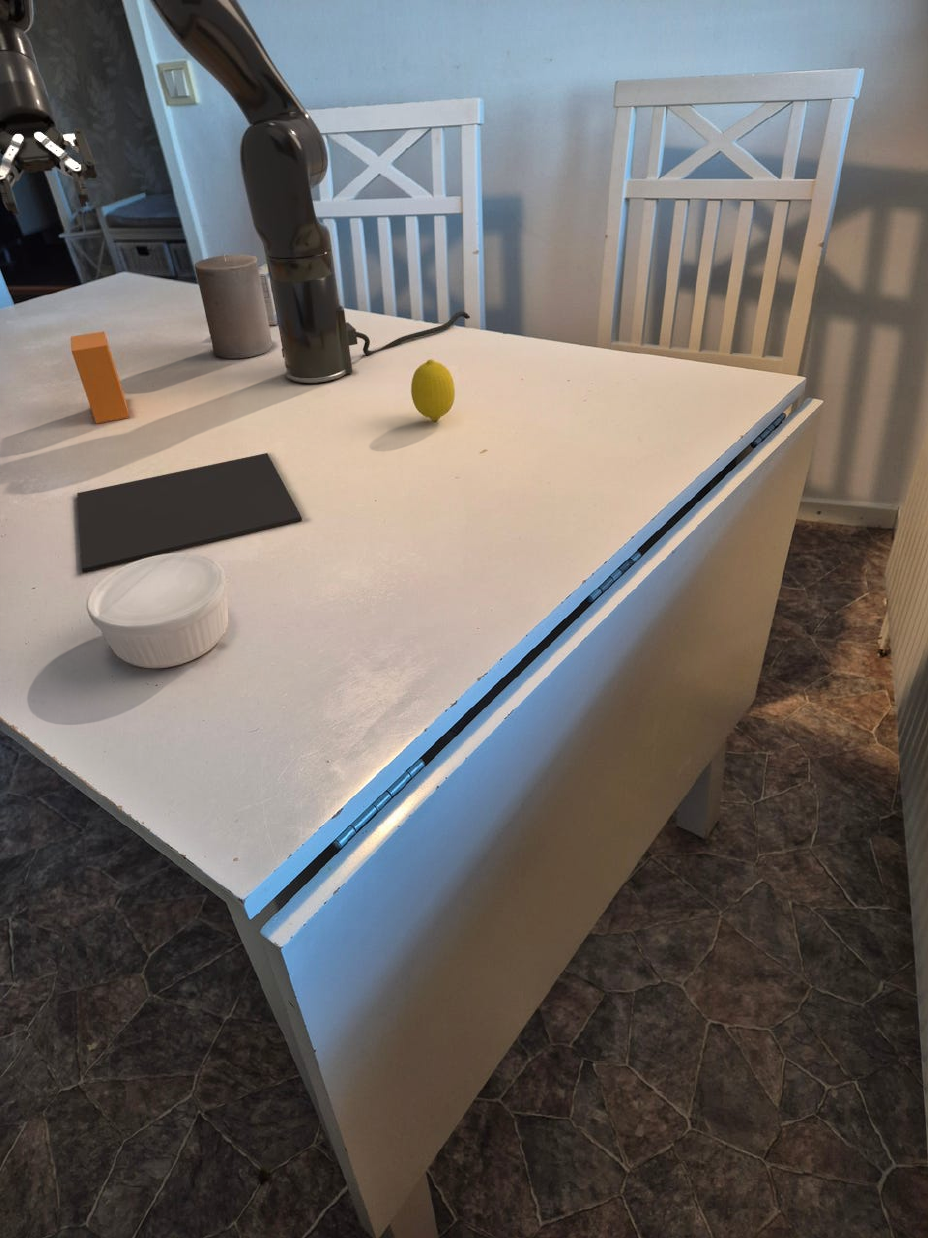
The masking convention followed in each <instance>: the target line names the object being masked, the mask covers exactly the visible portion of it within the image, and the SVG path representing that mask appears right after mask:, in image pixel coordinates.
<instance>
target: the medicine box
mask: <svg viewBox="0 0 928 1238" xmlns="http://www.w3.org/2000/svg"><path fill="white" fill-rule="evenodd" d="M258 268H259V274H260V279H261V285H262V290H263V295H264V300H265V306H266V311H267V316H268V322H269V326H278V321H277V316H276V310H275V305H274V300H273V294H272V289H271V283H270V277H269V273H268V267H267V263H264V264H261V265H258Z"/></svg>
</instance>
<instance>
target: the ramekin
mask: <svg viewBox="0 0 928 1238" xmlns="http://www.w3.org/2000/svg"><path fill="white" fill-rule="evenodd" d="M227 590H228V579H227V575H226V572H225V570H224V568H223V566H222V565H221V564H220V563H219V562H218V561H216V560H214V559H213V558H211V557H209V556H204V555H201V554H197V553H189V552H169V553H164V554H160V555H155V556H151V557H147V558H143V559H139V560H134V561H132V562H130V563H128V564H126V565H124V566H122V567H120V568H118V569H116V570H114V571H112V572H111V573H109V574H108V575H106V576H105V577H103V579H101V580H100V581H99V582H98V583H96V585H95V586H94V587H93V588H92V590H91V591H90V592H89V594H88V596H87V600H86V610H87V611H86V612H87V613H88V614H87V615H88V616H89V618H90V620H91V622H92V623H93V624H94V625H95V626H96V627H97V628H98V629H99V631H100V632H101V634H102V635H103V637H104V638H105V640H106V641H107V643H108V644H109V647H110V648H111V649H112V651H113V652H114V653H115V655H116V656H117V657H118V658H119V659H121V660H122V661H124V662H126V663H128V664H130V665H133V666H136V667H139V668H144V669H165V668H166V669H167V668H170V667H171V668H172V667H176V666H180V665H183V664H186V663H189V662H191V661H193V660H195V659H198V658H199V657H201V656H203V655H204V654H207V653H208V652H209V651H211V650H212V649H213V648H214V647H215V646H216V645H217V644H218V643H219V642H220V641H221V639H222V637H223V636H224V635H225V632H226V631H227V628H228V626H229V625H228V624H229V609H228V598H227Z"/></svg>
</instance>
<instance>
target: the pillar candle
mask: <svg viewBox="0 0 928 1238" xmlns="http://www.w3.org/2000/svg"><path fill="white" fill-rule="evenodd" d="M221 254H222V255H218V256H212V257H208V258H204V259H201V260H199V261H197V262H195V264H194V269H195V274H196V278H197V283H198V287H199V288H198V289H199V292H200V296H201V300H202V305H203V310H204V314H205V319H206V323H207V328H208V334H209V336H210V341H211V347H212V351H213V354H214V355H215V356H216V357H218V358H222V359H230V360H231V359H234V360H235V359H245V358H246V359H247V358H251V357H256V356H260V355H263V354H265V353H268V351H269V350H270V349H271V348H272V347H273V338H272V332H271V328H270V325H269V322H268V316H267V311H266V306H265V300H264V295H263V290H262V285H261V279H260V274H259V268H258V267H259V264H258V263H259V262H258V258H257V256H254V255H248V254H225V252H224V251H222V253H221Z"/></svg>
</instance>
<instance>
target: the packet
mask: <svg viewBox="0 0 928 1238" xmlns="http://www.w3.org/2000/svg"><path fill="white" fill-rule="evenodd" d="M70 347H71V349H70V350H71V354H72V356H73V360H74V362H75V366H76V369H77V373H78V374H79V377H80V380H81V383H82V387H83V389H84V393H85V395H86V398H87V401H88V404H89V407H90V410H91V412H92V416H93V419H94V421H95V424H97V425H98V424H103V423H108V422H114V421H118V420H124V419H128V418H130V414H129V409H128V405H127V400H126V396H125V394H124V390H123V387H122V384H121V383H122V382H121V381H120V377H119V374H118V371H117V367H116V365H115V360H114V358H113V355H112V354H113V353H112V352H111V348H110V346H109V342H108V339H107V335H106V333H105V331H97V332H92V333H85V334H79V335H72V336H70Z"/></svg>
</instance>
